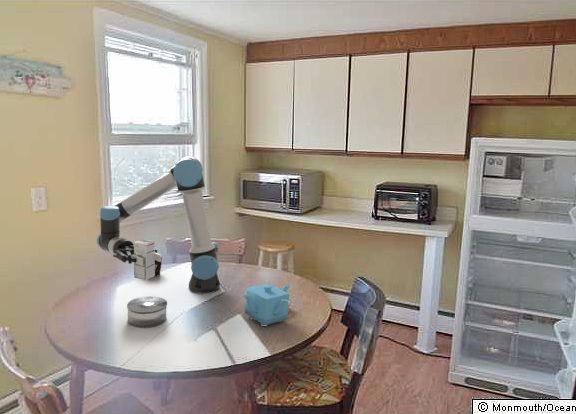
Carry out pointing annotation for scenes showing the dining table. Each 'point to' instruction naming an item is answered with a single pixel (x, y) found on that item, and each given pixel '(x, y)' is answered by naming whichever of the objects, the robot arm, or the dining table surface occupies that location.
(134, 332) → the dining table surface
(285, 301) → the teakettle
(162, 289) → the dining table surface
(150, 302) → the cookie tin
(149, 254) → the syrup box
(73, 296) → the dining table surface
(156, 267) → the coffee mug
